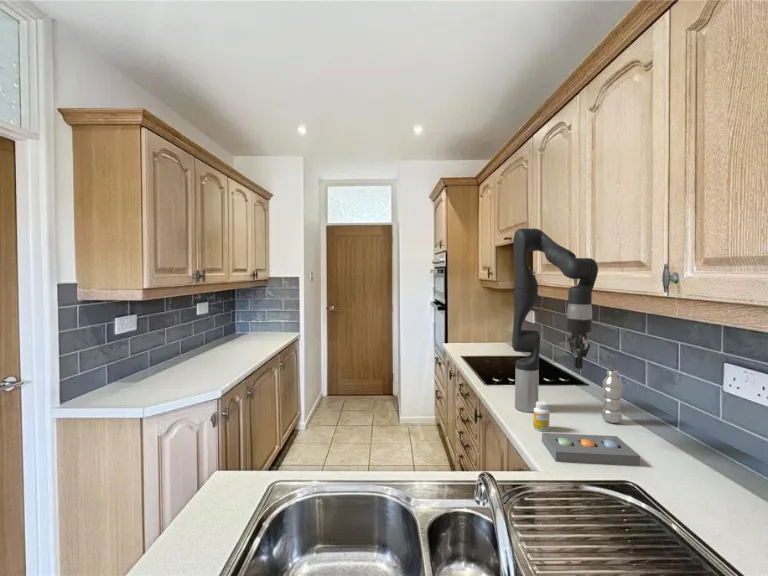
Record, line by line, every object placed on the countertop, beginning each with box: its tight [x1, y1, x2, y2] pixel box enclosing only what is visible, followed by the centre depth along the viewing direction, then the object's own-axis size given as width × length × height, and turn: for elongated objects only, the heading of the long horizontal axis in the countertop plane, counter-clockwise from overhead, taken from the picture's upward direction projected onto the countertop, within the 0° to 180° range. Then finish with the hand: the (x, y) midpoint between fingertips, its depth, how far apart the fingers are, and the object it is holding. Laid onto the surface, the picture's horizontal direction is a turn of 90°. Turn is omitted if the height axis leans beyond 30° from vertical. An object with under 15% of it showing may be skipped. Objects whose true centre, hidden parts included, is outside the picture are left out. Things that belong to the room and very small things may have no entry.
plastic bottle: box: [601, 368, 623, 424], centre depth 148 cm, size 6×7×20 cm
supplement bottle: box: [532, 400, 550, 433], centre depth 141 cm, size 5×5×10 cm
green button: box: [558, 438, 572, 446], centre depth 123 cm, size 4×4×2 cm
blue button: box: [604, 440, 618, 448], centre depth 122 cm, size 4×4×2 cm
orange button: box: [581, 439, 595, 447], centre depth 123 cm, size 4×4×2 cm
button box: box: [541, 432, 641, 467], centre depth 123 cm, size 14×24×3 cm, turn 84°
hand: (578, 368), depth 131 cm, fingers closed
